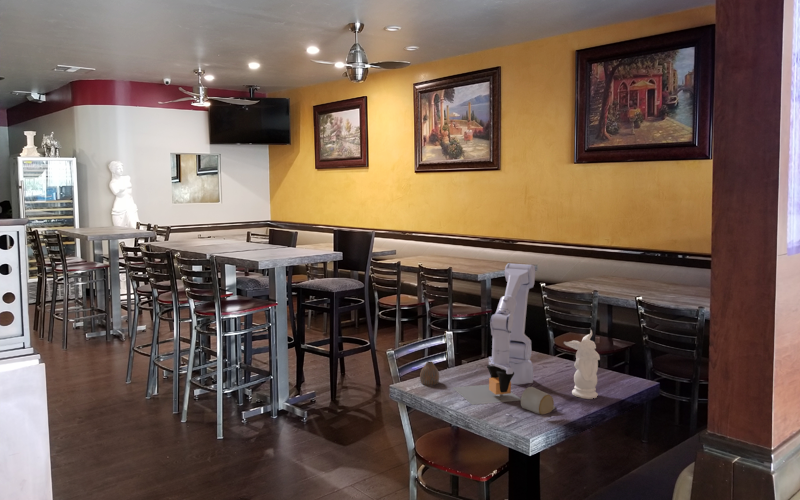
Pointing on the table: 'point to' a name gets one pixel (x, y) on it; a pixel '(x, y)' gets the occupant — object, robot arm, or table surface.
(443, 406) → the table surface
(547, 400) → the ceramic mug
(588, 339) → the cherub figurine
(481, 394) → the board
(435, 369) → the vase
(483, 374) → the table surface
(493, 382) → the orange cubby crate
